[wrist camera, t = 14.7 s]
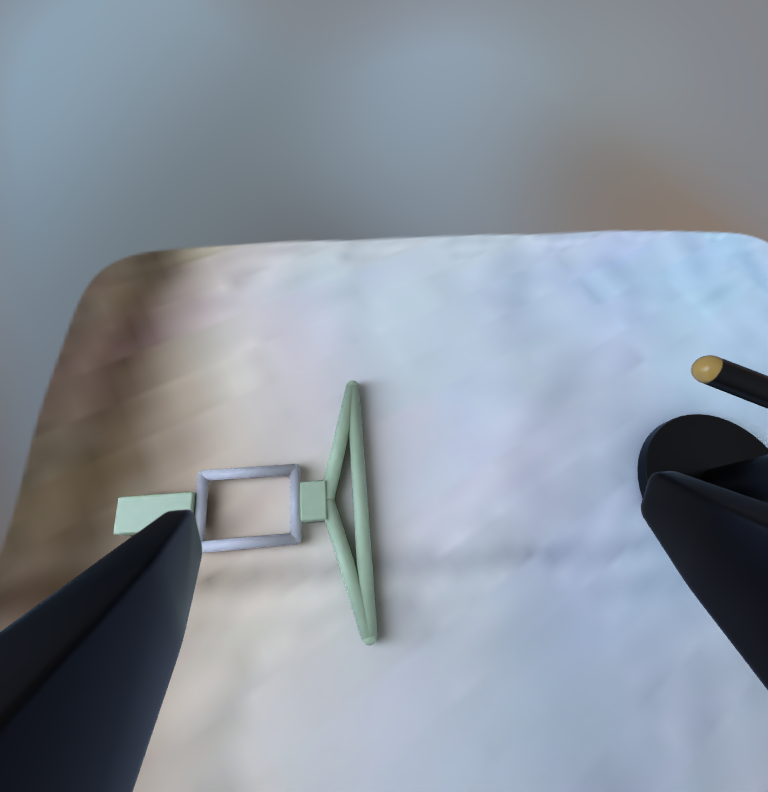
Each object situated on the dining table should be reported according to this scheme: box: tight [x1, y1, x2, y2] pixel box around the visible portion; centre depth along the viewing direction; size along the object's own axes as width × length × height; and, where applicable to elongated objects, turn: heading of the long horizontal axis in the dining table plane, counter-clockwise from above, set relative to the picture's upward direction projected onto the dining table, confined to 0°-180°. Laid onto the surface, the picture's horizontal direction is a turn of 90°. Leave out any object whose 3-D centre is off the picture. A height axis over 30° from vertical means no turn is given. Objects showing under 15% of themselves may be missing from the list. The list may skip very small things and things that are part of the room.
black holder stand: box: [638, 355, 768, 503], centre depth 18 cm, size 8×12×9 cm
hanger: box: [113, 381, 377, 645], centre depth 19 cm, size 1×12×11 cm
